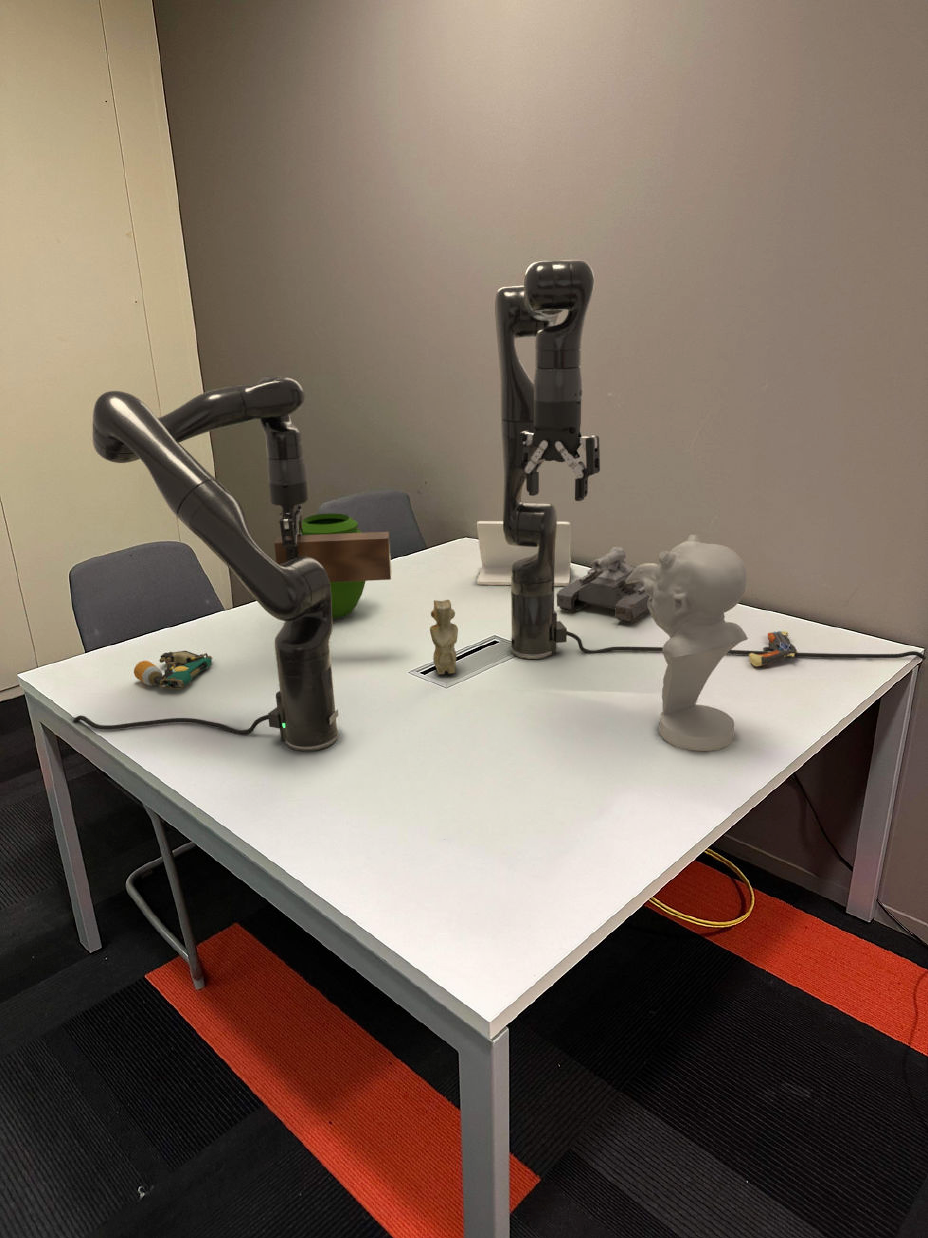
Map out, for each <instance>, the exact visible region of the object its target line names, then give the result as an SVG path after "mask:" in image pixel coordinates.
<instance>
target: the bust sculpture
mask: <svg viewBox="0 0 928 1238" xmlns="http://www.w3.org/2000/svg"><path fill="white" fill-rule="evenodd" d="M658 561H659V564H657V563H653V562H650V563H647V562H646V563H642V564H640V565H637V566H636V568H635V569H634V570H633V572H632V573H631V574H630V575H629V576H628V577H627V579H626V580H625V583H626V584H630V583H635V582H642V583H644V589H645V592H646V594H647V595H648V596H649V599H648V601H647V606H648V609H649V611H650V612H649V613H650V615H651V617H652V619H653V621H654V623H655V624H656V626H658V627H659V628H660V629H661V630H662V631H663V632H664V633H665V634H666V635H668V636H669V639H668V640H666V642H664V644H663V646H662V647H663V649H662V651H661V652H662V655H663V658H664V660H665V663H666V664H667V666H666V668H665V672H664V674H663V678H662V688H661V700H662V705H661V706H662V709H661V710H662V712H661V713H660V714H659V715H660V716H659V726H658V727H659V728H658V733H659V735H660V737H661V738H662V739H663V740H664V741H666V742H667V743H669V744H670V745H673V746H675V747H677V748H681V749H683V750H684V749H685V750H690V751H697V752H711V751H716V750H721V749H723V748H725V747H726V748H727V746H729V745H730V744H731V743H732V742H733V740H734V734H735V720H734V719H733V717H732V716H730V715H729V714H728V713H726V712H725V711H724V710H721V709H719V708H716V707H713V706H709V705H705V704H698V703H697V701H698V700H699V697H700V695H701V693H702V691H703V688H705V686H706V683H707V682H708V680H709V678H710V676H711V675H712V673H713V672H714V670H715V669H716V667H717V666H718V665H719V664H720V662H721V661H722V659H723V658H725V656H726V655H727V653H728V652H729V651H730V650H733V649H734V648H735V647H736V646H737V645H739V644H740V643H742V642H744V641H747V640H749V637H748V636H747V634H746V632H745V631H744V630H743V628H742V627H741V626H740V625H739V624H737V623H735V622H731V621H726V620H725V618H726V616H725V613H727V612H729V611H731V610H733V608H735V607H736V606H737V605H738V604H739V603H740V602H741V600H742V599H743V596H744V594H745V591H746V587H747V569H746V566H745V564H744V562H743V560H742V558H741V556H739V554H737V552H735V550H733V549H732V548H730V547H728V546H726V545H722V544H717V543H707V542H706V543H705V542H701V540H700V537H699V536H698V535H696V534H690V535H689V536H688V538H687V540H686V541H682V542H681V543H679V544H678V545H675V547H673V548H672V549H671V550H670V551H667V550H664V551H661V552H660V554H659V555H658Z"/></svg>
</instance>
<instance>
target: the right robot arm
mask: <svg viewBox="0 0 928 1238" xmlns="http://www.w3.org/2000/svg"><path fill="white" fill-rule="evenodd" d="M594 288H595V275H594V271H593V269H592V267H591V266H590V264H589V263H588V262H586V261H585V260H581V259H566V260H565V259H564V260H540V261H535V262H533V263H531V264H530V265H529V266H528V268H526V272H525V275H524V279H523V285H516V286H503V287H501V288H499V289H498V290H497V291H496V295H495V300H494V316H495V327H496V328H495V330H496V339H497V340H496V341H497V349H498V351H497V352H498V360H499V361H498V363H499V376H500V377H499V378H500V424H501V425H500V429H501V442H502V459H503V502H502V503H503V505H502V506H503V508H502V509H503V510H502V521H503V532H504V538H505V540H506V542H507V543H508V544H509V545H513V546H524V547H538V553H537V554H535V555H533V556H531V557H528V558H524V559H521V560H518V561H516V562H515V563H513V565H512V567H511V585H510V588H511V589H510V597H511V599H510V603H511V604H510V606H511V607H510V609H511V610H510V615H511V617H510V618H511V621H510V622H511V640H510V645H511V646H510V651H511V653H512V655H513V656H515V657H518V658H521V659H525V660H526V659H527V660H540V659H545V658H548V657H550V656H552V655H557V654H558V653H557V650H558V649H557V648H558V647H557V645H558V644H561V643H567V640H568V639H567V638H568V637H570V638H572V639H574V640H575V641H576V642H577V645H578V648H579V650H580V651H581V652H582V653H584V654H603V653H608V652H609V653H610V652H615V651H616V652H617V651H618V652H620V651H623V652H624V651H627V652H629V651H634V652H662V649H663V646H609V647H605V648H600V649H595V650H592V649H589V648H588V649H587V648H585V647H584V644H583V641H582V639H581V638H580V637H579V636H578V634H576V633H573V632H571V631H569V630H568V628H567V627H566V625H564V624H563V622H562V621H561V620H558V613H557V612H556V611H555V586H554V567H555V542H556V529H557V522H558V517H557V515H558V514H557V510H556V507H555V506H554V504H552V503H549V502H548V503H546V502H531V501H530V502H529V501H522V492H523V487H524V484H525V483H526V485H525V489H526V492H528V496H532V497H535V496H537V495H539V492H540V472H539V471H538V470H539V468H540V467H541V466H542V464H543V463H544V462H552V461H554V462H557V463H564V462H565V463H566V465H567V466H568V467H569V468H571V469H572V471H573V473H574V474H575V476H576V478H575V479H574V501H575V502H581V501H583V500H585V498H586V497H587V496H588V493H589V492H588V491H589V478H590V477H591V476H593V475H596V474H598V473H600V471H601V457H600V456H601V455H600V454H601V453H600V451H601V450H600V437H599V436H598V435H595V434H594V435H591V436H583V435H582V434H581V426H582V396H583V385H582V384H583V383H582V382H583V381H582V380H583V379H582V373H581V363H582V362H581V361H582V360H581V359H582V356H581V355H582V354H581V352H582V336H583V330H584V325H585V320H586V316H587V313H588V310H589V306H590V303H591V299H592V296H593V294H594V293H593V292H594ZM563 311H567V315H566V317H565V319H564V320H563V321H562V322H560V323H558V324H556V323H557V321H558V317H559V315H560V314H561V313H562V312H563ZM525 338H535V371H534V378H533V380H532V378H531V377H530V376H529V374H528V372H527V371H526V369H525V368H524V366H523V364H522V362H521V359H520V357H519V355H518V352H517V349H516V344H515V342H516V341H515V340H516V339H525ZM581 446H582V449H583V450H584V451H585V459H584V457H583V456H582V454H581V452H580V451H579V448H580V447H581ZM767 652H769V651H767ZM750 653H754V654H756V655H758V654H763V650H742V649H731V650H730V651H729V652H728V653H727V654H728V655H742V656H743V655H746V656H749V654H750ZM727 654H726V655H727ZM910 656H915V657H916V656H917V657H918V658H920V659H922V660H926V659H927V657H926V656H925V655H924V654H923V653H921V652H920V651H916V650H912V651H911V650H910V651H905V652H900V653H827V652H826V653H825V652H822V653H821V652H798V653H795V655H794V657H792V656H790V657H792V658H823V659H824V658H827V659H830V658H831V659H833V658H834V659H902V658H906V657H910Z"/></svg>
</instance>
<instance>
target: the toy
mask: <svg viewBox="0 0 928 1238" xmlns="http://www.w3.org/2000/svg"><path fill="white" fill-rule="evenodd" d="M626 557H627V556H626V551H625V549H624V548H622V547H621V546H614V547H612V548H611V549H610V550H609V552H608V553H607V554H605V555H604V556H601V557H599V558H598V559H597V557H596V558H594V559H593V560H592V561H590V562H589V563H590V564H591V565H592V567H591V568H590V569H589V570H587V573H586V575H584V576H582V577H580V578H578V579H577V580H575V581H573V582H570V583H569V585H567V586H563V587H562V588H560V589H559V590H558V591H557V592H556V607H558V608H559V609H560V610H562V611H566V612H572V613H575V612H577V611H579V610H581V609H582V608H585V607H586V606H588V605H592V606H598V607H602V608H603V607H604V608H609V609H613V610H614V618H615V619H617V620H618V621H621V622H626V623H631V624H634V623H635V622H637V621H638V620H640V619H641V618H642V617H644V616H645V615H647V614H648V613H650V611H649V609H648V606H647V601H648V599H649V596H648V595H647V594H646V592H645V589H644V583H642V582H635V583H630V584H626V583H625V580H626V579H627V577H628V576H629V575H630V574H631V573H632V572H633V570H634V569H635V568H636V567H637V566H635V565H629V564H628V563H627V562H626V561H625V559H626Z"/></svg>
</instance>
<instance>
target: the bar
mask: <svg viewBox="0 0 928 1238" xmlns="http://www.w3.org/2000/svg"><path fill="white" fill-rule="evenodd" d="M287 540H292V537H291V536H288V537H287ZM390 541H391V540H390V531H370V532H369V531H368V532H362V533H345V534H322V535H299V536H297V542H298V545H297V550H298V557H303V556H305V557H311V558H313V559H315V560H317V561H318V562H319V563H320V564H321V565H322V566H323V567H324V569H325V571H326V573H327V575H328V578H329V581H330V582H350V581H366V582H367V581H389V580H390V581H391V580H392V572H393V571H392V556H391V542H390ZM273 546H274V555H275V562H276V563H277V564H279V565H281V564H283V563H285V562H287V554H286V547H283V545H282V535H280V536H277V537H276V539H275V541H274V542H273Z"/></svg>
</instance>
